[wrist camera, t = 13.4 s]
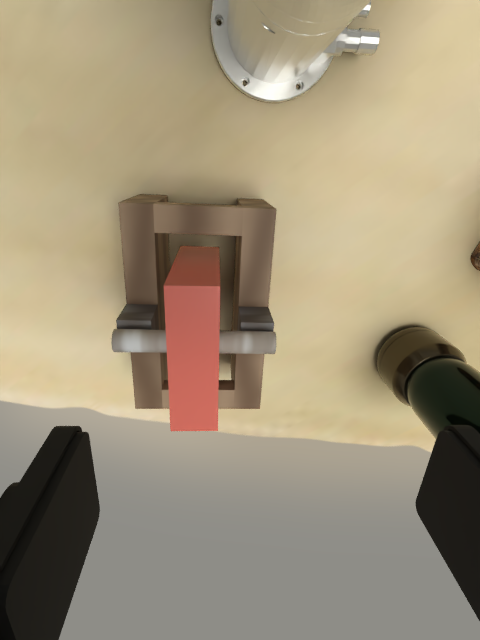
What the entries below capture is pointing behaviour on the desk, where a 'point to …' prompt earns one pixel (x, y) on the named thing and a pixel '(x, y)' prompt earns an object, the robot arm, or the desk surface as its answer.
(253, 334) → the tan hollow frame
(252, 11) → the robot arm
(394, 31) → the desk surface
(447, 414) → the lamp
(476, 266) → the book
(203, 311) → the red arch block
